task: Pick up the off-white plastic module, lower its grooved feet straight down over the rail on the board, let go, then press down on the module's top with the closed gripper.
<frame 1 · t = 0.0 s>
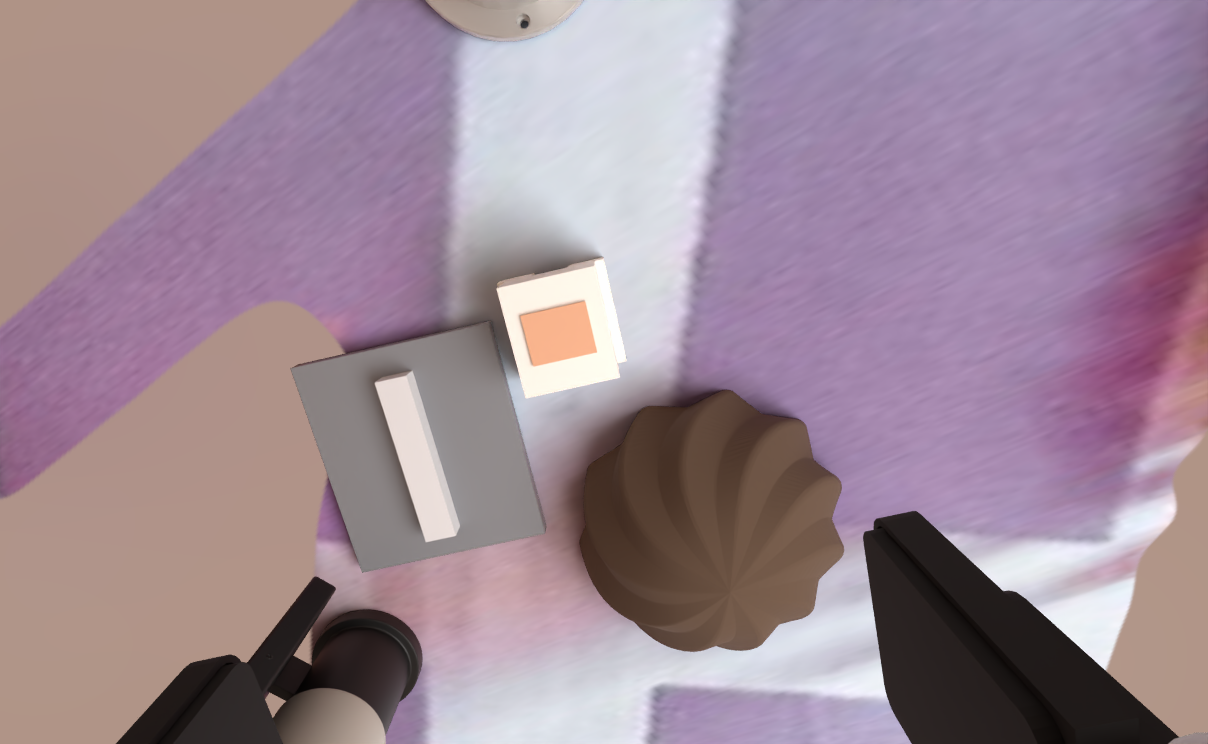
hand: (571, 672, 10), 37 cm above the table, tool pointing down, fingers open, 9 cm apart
light fixture: (356, 645, 52), on the table
rail board: (426, 447, 48), on the table
decorative dome: (707, 514, 50), on the table
module: (564, 318, 46), on the table
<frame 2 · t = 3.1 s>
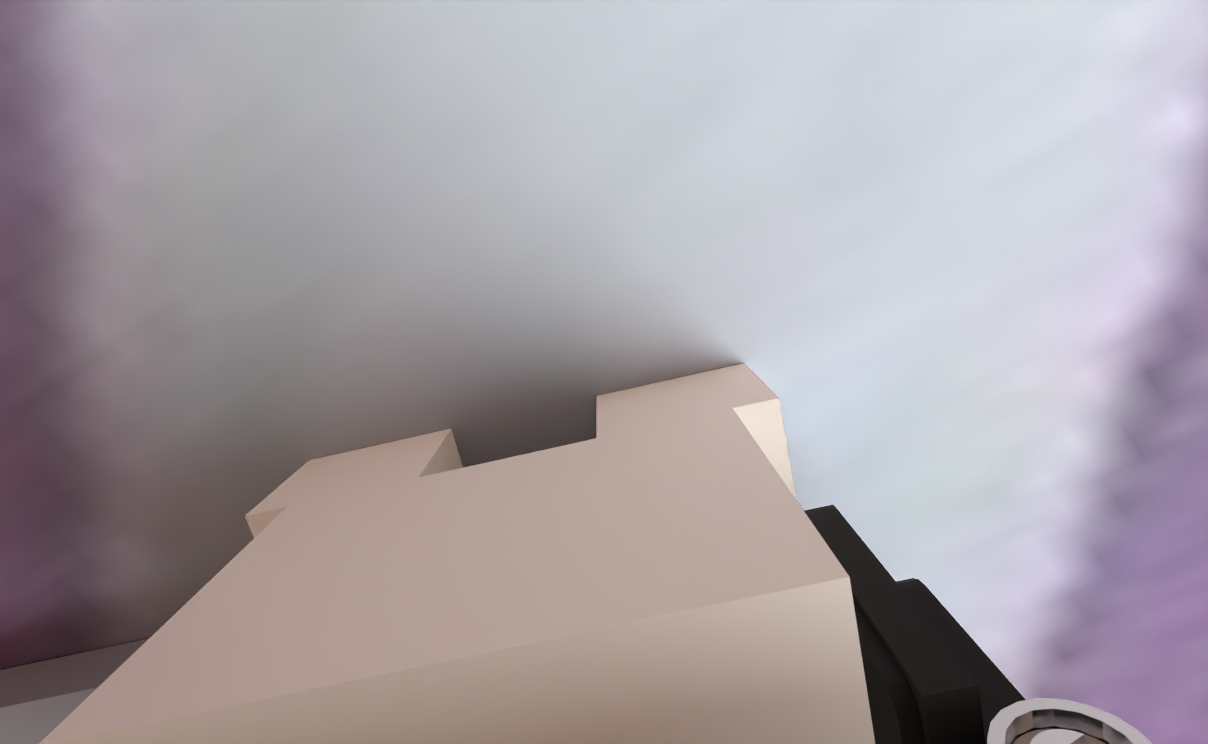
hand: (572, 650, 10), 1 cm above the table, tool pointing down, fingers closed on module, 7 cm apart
module: (574, 600, 11), on the table, touching gripper
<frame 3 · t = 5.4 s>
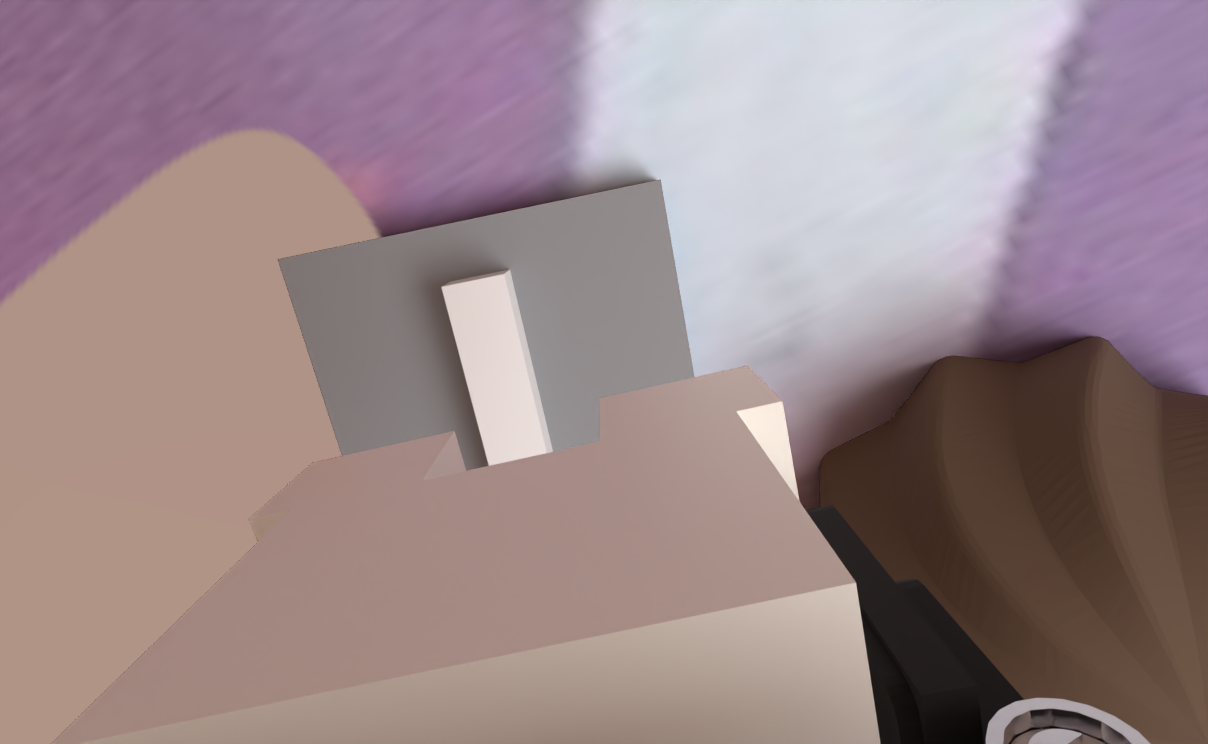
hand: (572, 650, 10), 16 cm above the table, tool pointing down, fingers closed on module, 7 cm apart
rail board: (521, 418, 26), on the table
decorative dome: (1008, 553, 29), on the table
module: (577, 603, 11), point 15 cm above the table, touching gripper
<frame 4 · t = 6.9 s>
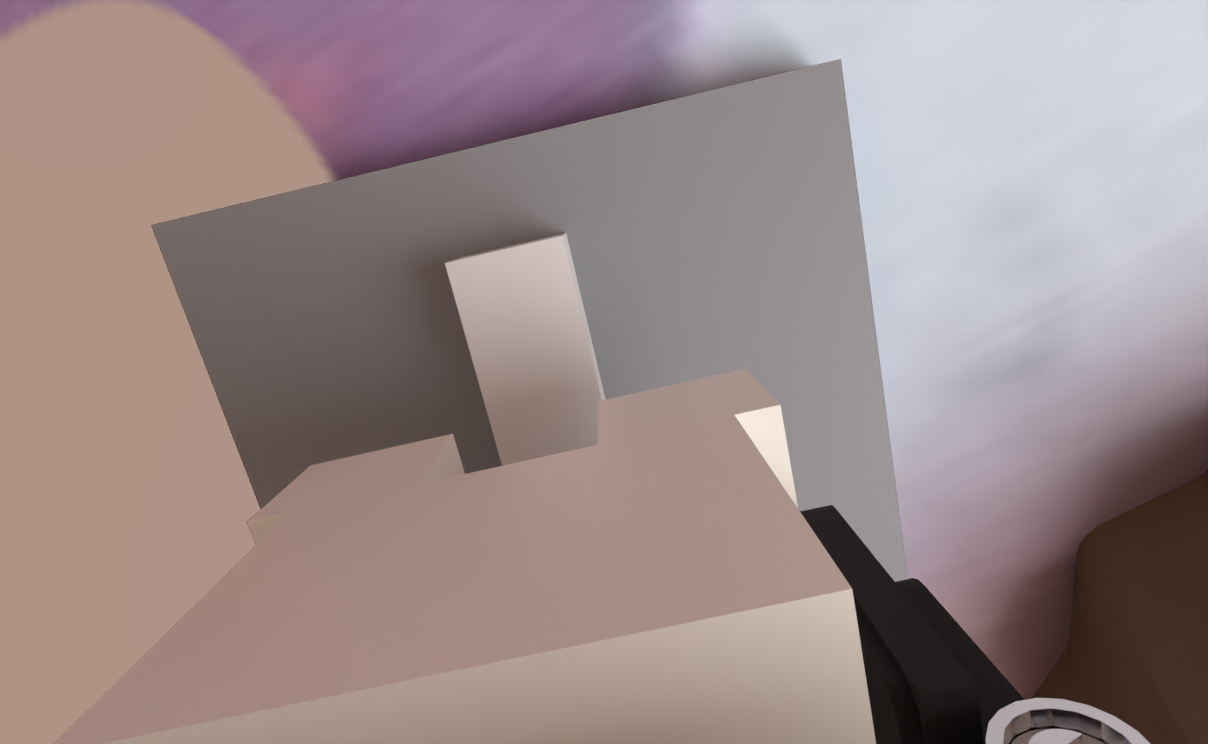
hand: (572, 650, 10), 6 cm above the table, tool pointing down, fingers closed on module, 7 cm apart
rail board: (582, 487, 16), on the table
module: (575, 605, 11), point 5 cm above the table, touching gripper
when the fingers open (3 cm above the table, at t = 8.1 s): module stays where it is, resting on rail board.
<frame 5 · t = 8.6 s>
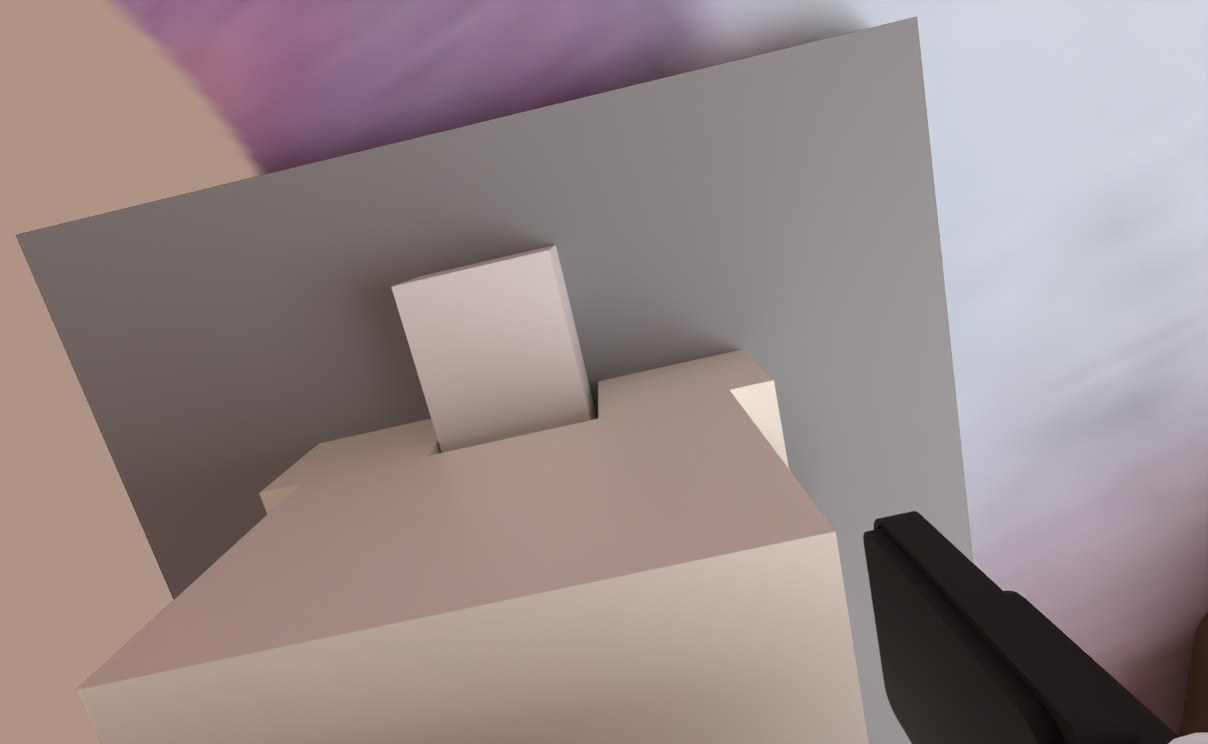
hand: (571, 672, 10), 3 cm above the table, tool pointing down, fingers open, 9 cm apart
rail board: (578, 557, 13), on the table
module: (576, 581, 12), point 1 cm above the table, touching rail board
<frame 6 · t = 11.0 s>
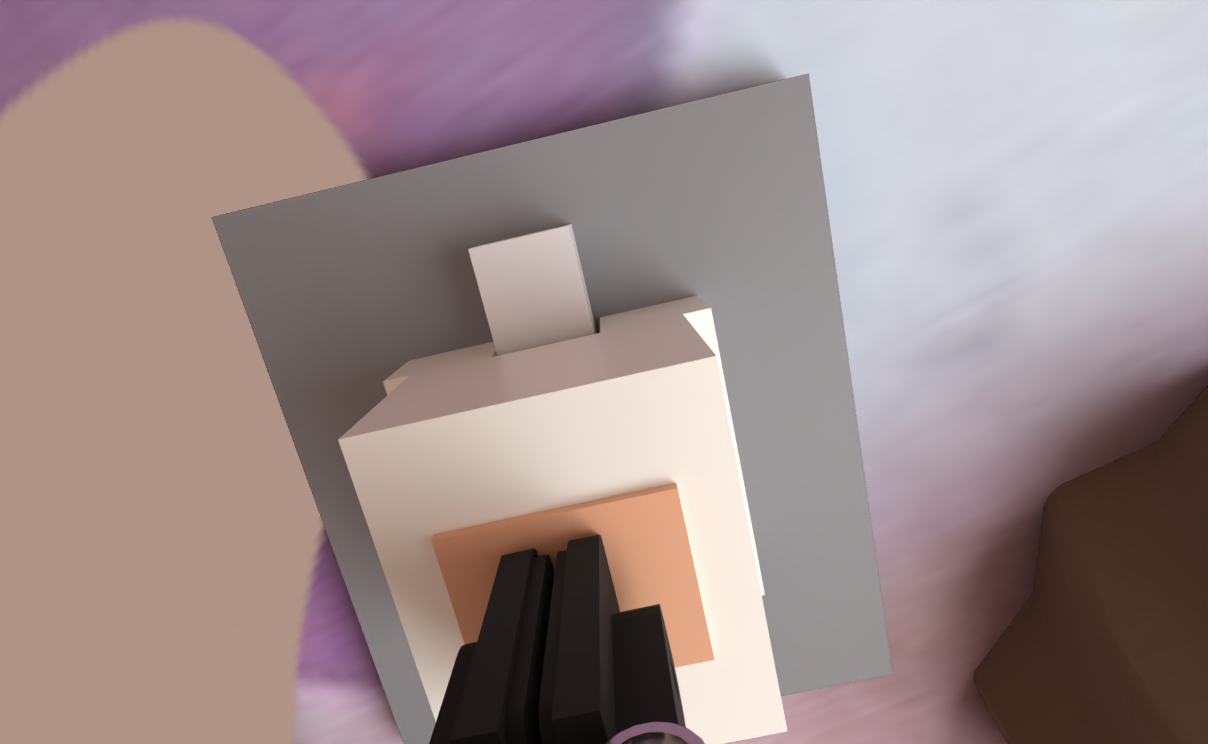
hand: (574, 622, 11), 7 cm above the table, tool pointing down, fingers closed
rail board: (585, 450, 18), on the table
module: (584, 460, 17), point 1 cm above the table, touching gripper, rail board
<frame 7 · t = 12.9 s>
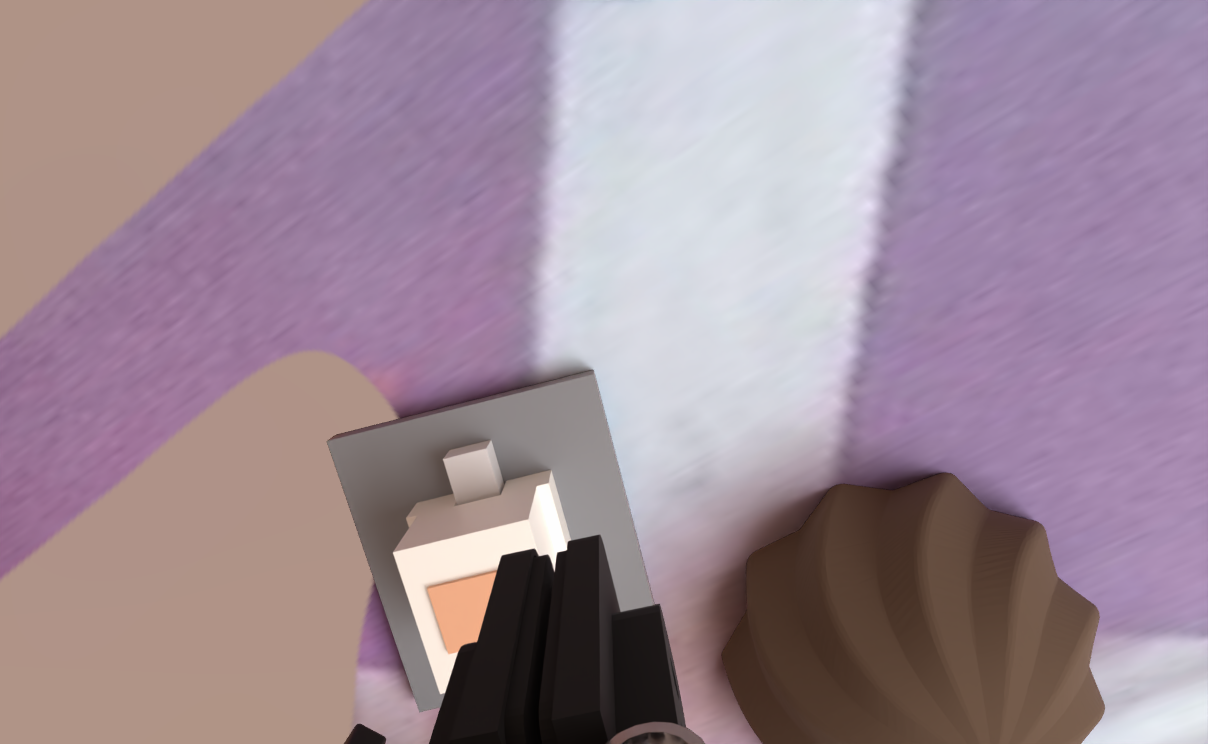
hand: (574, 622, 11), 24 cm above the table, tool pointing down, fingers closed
rail board: (505, 541, 36), on the table
decorative dome: (893, 632, 37), on the table
module: (502, 547, 34), point 1 cm above the table, touching rail board
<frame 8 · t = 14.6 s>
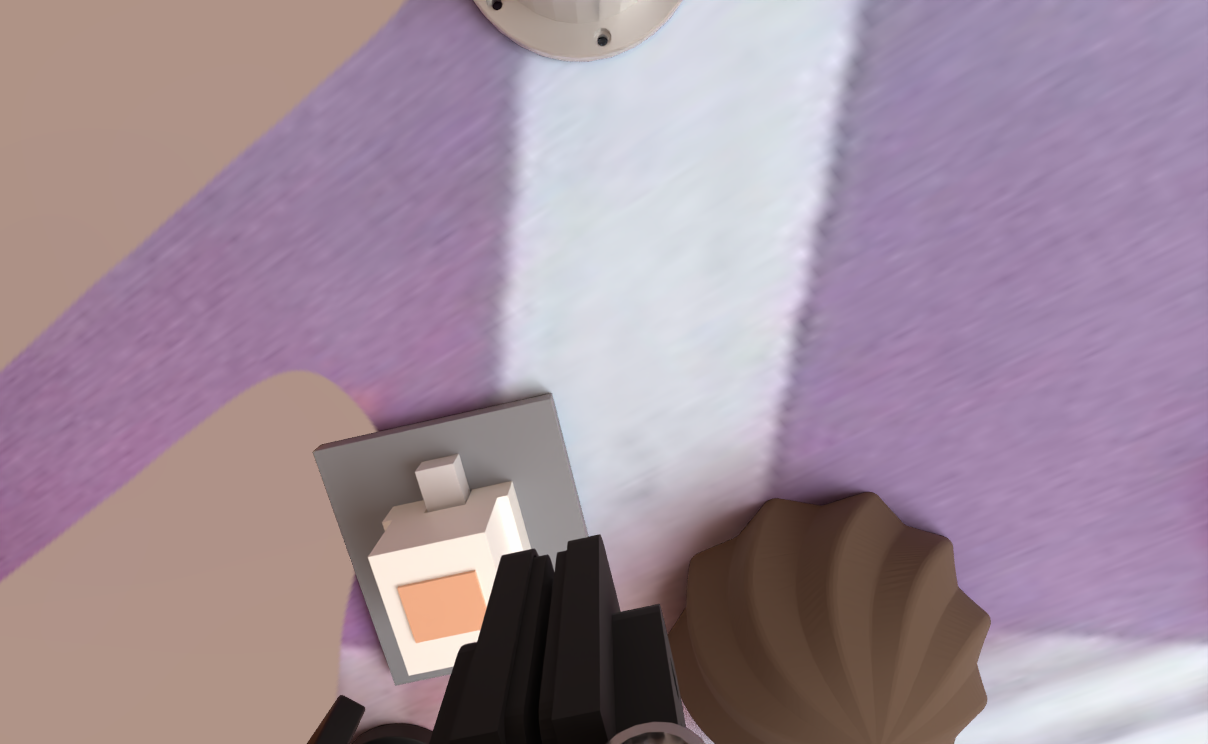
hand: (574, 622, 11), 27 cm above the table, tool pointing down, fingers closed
rail board: (472, 540, 40), on the table
decorative dome: (817, 627, 42), on the table
module: (468, 547, 39), point 1 cm above the table, touching rail board
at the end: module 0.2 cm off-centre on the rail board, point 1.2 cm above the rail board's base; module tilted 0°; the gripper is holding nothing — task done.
